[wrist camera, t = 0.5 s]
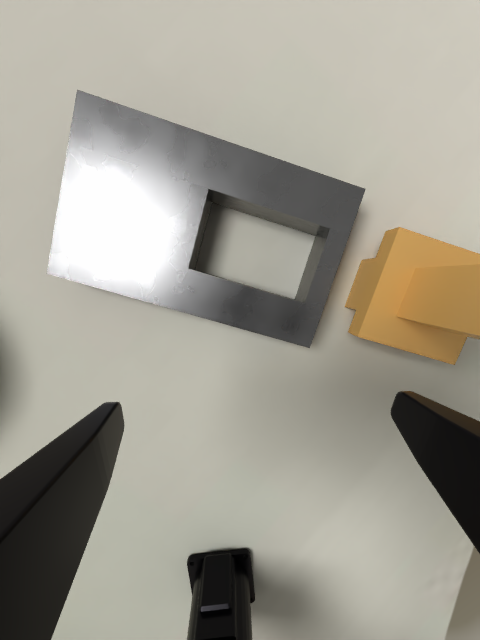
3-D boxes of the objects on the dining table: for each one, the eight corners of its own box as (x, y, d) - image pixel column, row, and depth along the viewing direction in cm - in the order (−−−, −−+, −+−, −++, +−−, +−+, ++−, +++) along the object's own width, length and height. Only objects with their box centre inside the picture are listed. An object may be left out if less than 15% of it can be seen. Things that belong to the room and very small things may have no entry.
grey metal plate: (299, 338, 22) (309, 348, 19) (73, 274, 20) (46, 273, 17) (345, 202, 20) (365, 189, 17) (102, 119, 18) (77, 89, 15)
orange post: (415, 349, 22) (661, 445, 10) (334, 326, 22) (483, 394, 9) (451, 264, 21) (789, 243, 8) (367, 237, 20) (592, 167, 8)
